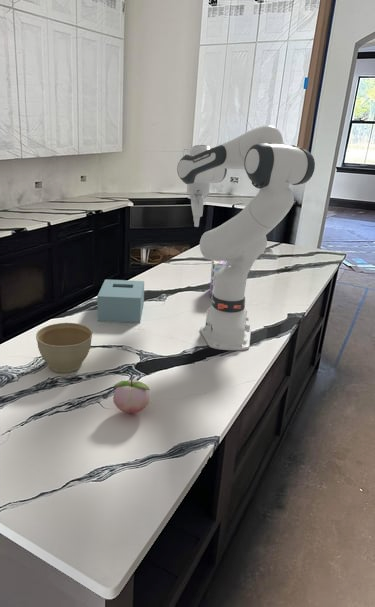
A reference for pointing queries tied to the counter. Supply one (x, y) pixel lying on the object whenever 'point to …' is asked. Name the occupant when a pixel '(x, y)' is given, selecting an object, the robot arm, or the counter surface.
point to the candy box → (215, 268)
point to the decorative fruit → (131, 396)
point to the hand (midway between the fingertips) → (195, 224)
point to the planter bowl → (64, 345)
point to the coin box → (121, 301)
